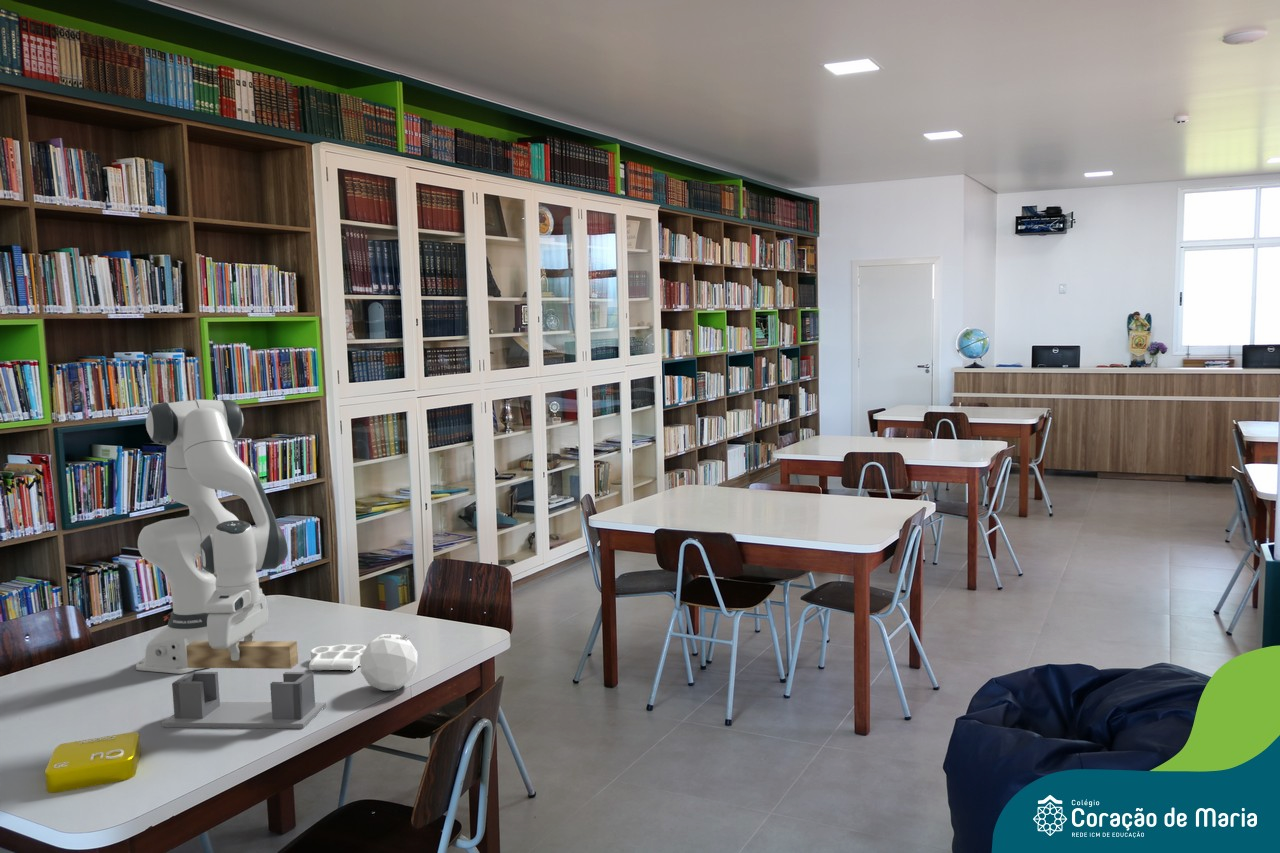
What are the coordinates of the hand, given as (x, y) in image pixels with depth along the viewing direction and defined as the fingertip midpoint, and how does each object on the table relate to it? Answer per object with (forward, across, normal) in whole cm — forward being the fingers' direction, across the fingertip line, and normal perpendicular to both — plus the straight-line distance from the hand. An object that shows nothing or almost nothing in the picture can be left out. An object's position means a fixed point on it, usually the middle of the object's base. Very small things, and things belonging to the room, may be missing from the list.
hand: (242, 655), depth 213 cm
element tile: (+15, +27, -17) cm, 35 cm away
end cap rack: (+14, 0, 0) cm, 14 cm away
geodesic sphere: (+14, -18, +27) cm, 35 cm away
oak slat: (+2, 0, 0) cm, 2 cm away
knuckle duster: (+14, -36, +8) cm, 39 cm away
